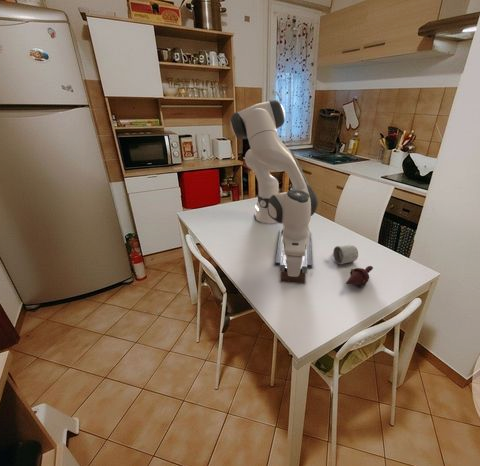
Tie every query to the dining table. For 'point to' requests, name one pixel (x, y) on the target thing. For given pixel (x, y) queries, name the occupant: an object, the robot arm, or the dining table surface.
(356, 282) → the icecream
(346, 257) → the ceramic mug
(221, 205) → the dining table surface
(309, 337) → the dining table surface
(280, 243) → the tray
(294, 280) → the dark brown block
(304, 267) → the tip dish
